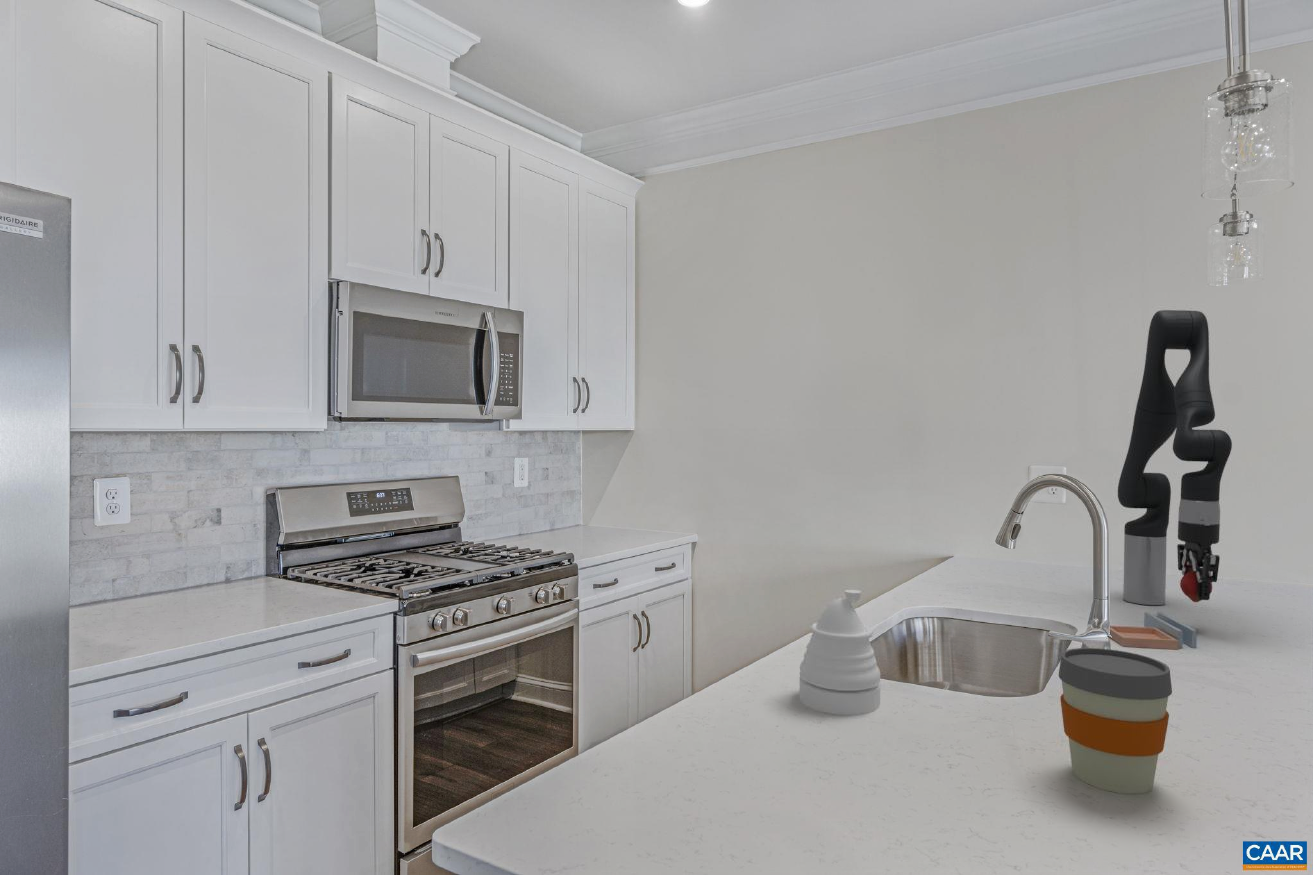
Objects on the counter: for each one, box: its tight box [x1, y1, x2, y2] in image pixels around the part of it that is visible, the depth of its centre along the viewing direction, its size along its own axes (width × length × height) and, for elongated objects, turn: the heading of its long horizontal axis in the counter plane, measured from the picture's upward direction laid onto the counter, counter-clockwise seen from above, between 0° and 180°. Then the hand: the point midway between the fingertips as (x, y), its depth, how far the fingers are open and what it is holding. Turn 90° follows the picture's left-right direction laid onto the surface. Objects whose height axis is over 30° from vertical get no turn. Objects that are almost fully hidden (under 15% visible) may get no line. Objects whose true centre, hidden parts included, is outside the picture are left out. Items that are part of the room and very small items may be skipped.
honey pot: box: [798, 589, 881, 716], centre depth 128 cm, size 13×13×18 cm
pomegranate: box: [1179, 570, 1213, 603], centre depth 173 cm, size 6×6×8 cm
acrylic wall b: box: [1143, 612, 1184, 649], centre depth 168 cm, size 16×1×4 cm, turn 170°
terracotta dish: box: [1110, 625, 1179, 650], centre depth 165 cm, size 10×10×2 cm
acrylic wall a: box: [1156, 611, 1198, 649], centre depth 168 cm, size 16×1×4 cm, turn 170°
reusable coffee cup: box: [1058, 647, 1173, 795], centre depth 101 cm, size 13×13×15 cm
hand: (1195, 595), depth 173 cm, fingers closed on pomegranate, 6 cm apart
